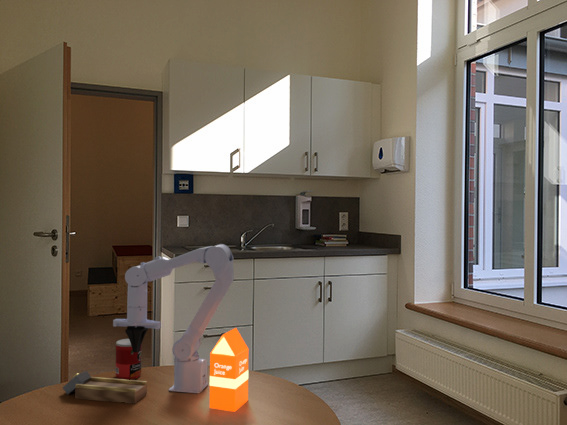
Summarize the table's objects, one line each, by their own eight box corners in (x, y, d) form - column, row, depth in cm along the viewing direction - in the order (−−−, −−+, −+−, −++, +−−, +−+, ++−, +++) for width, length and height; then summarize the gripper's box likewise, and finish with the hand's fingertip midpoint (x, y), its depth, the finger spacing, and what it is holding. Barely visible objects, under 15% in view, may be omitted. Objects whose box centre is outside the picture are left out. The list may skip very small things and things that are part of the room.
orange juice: (248, 400, 137) (249, 328, 138) (235, 412, 129) (236, 335, 129) (223, 396, 140) (223, 326, 140) (208, 408, 132) (209, 333, 132)
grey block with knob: (91, 377, 143) (85, 368, 144) (81, 382, 139) (74, 373, 139) (77, 389, 144) (71, 380, 145) (67, 394, 140) (60, 385, 141)
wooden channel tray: (146, 394, 141) (146, 381, 141) (134, 403, 134) (134, 389, 134) (89, 389, 144) (89, 376, 144) (75, 398, 137) (75, 384, 137)
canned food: (134, 381, 152) (134, 345, 152) (110, 379, 154) (110, 343, 154) (145, 373, 160) (146, 339, 160) (123, 371, 161) (123, 337, 161)
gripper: (107, 307, 145) (107, 353, 145) (153, 309, 142) (152, 357, 142) (120, 303, 152) (119, 347, 152) (164, 305, 149) (163, 350, 149)
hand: (136, 351), depth 147 cm, fingers closed
